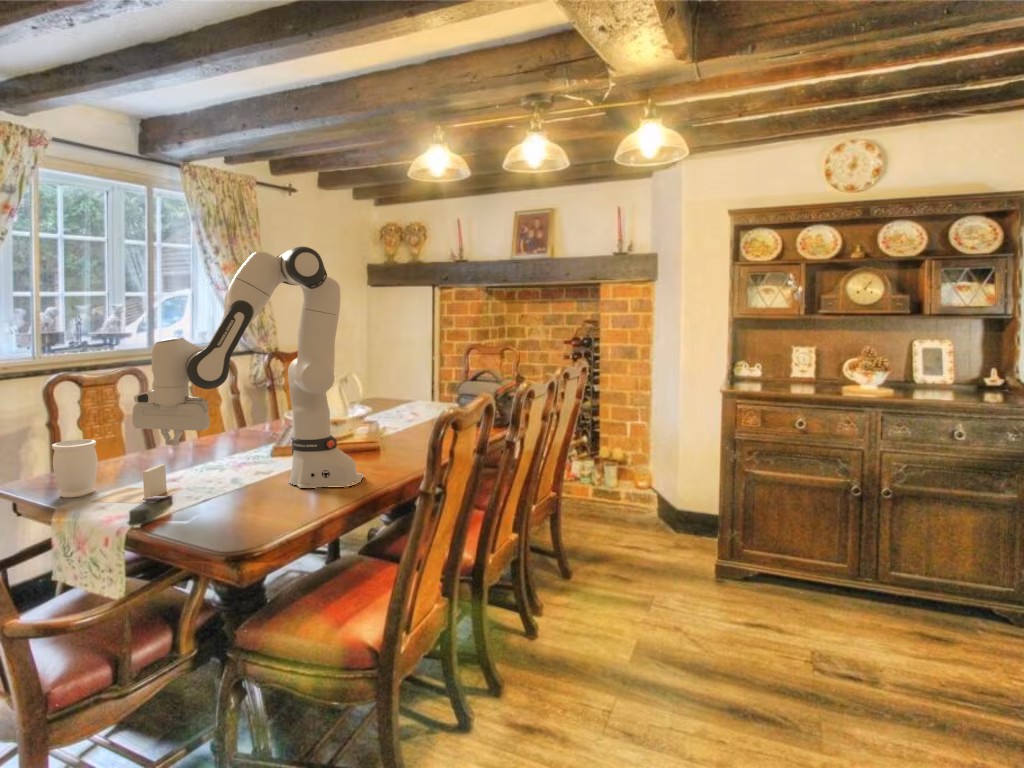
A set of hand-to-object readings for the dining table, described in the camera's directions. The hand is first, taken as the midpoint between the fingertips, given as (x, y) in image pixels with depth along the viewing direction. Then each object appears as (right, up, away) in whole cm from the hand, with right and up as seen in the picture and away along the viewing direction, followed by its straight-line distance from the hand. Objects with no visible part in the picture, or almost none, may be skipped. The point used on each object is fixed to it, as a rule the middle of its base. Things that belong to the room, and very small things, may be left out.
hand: (172, 445), depth 174 cm
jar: (-30, -15, +5) cm, 34 cm away
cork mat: (-11, -15, +2) cm, 19 cm away
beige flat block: (-6, -15, +2) cm, 16 cm away
